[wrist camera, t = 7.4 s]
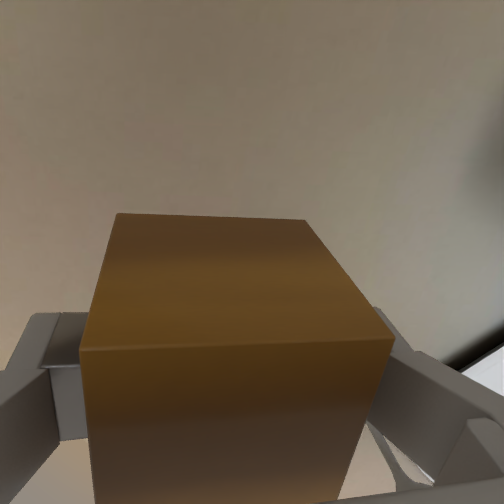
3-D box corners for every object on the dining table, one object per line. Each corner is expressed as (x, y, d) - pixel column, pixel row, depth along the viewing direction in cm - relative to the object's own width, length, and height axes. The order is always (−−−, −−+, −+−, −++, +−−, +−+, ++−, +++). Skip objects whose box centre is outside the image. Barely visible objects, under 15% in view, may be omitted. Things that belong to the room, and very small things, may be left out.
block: (116, 212, 9) (77, 348, 5) (305, 219, 10) (397, 337, 6) (122, 363, 11) (98, 545, 7) (278, 356, 12) (334, 510, 8)
